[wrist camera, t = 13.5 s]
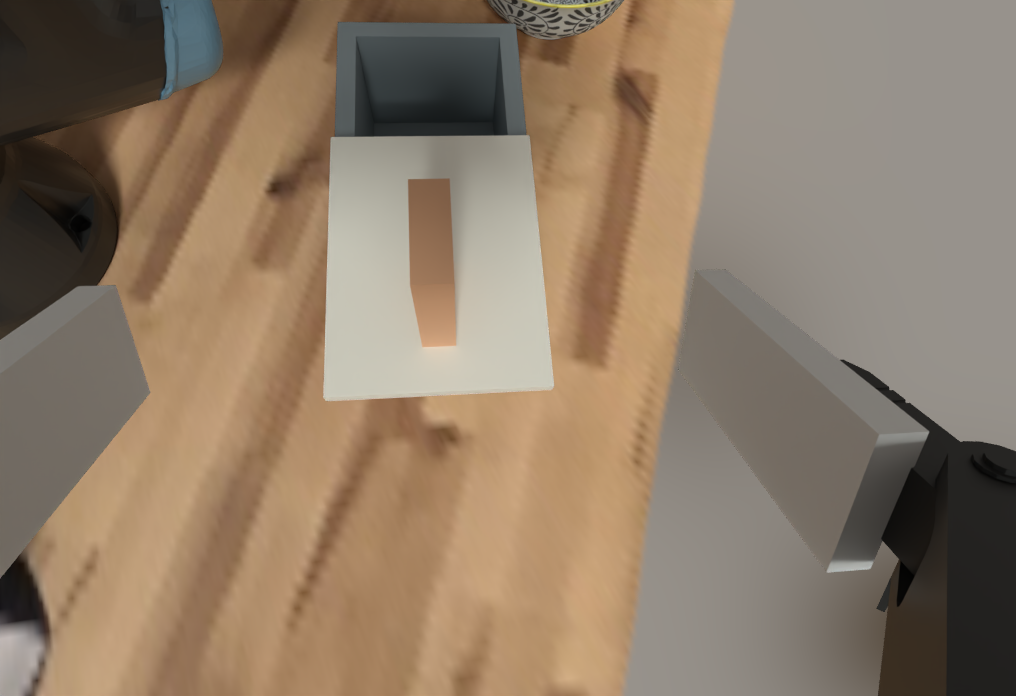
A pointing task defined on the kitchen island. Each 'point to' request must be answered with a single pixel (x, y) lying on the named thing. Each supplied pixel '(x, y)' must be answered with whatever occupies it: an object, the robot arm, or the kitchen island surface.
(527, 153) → the lid
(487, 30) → the carton
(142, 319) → the kitchen island surface
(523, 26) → the bowl
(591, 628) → the kitchen island surface
